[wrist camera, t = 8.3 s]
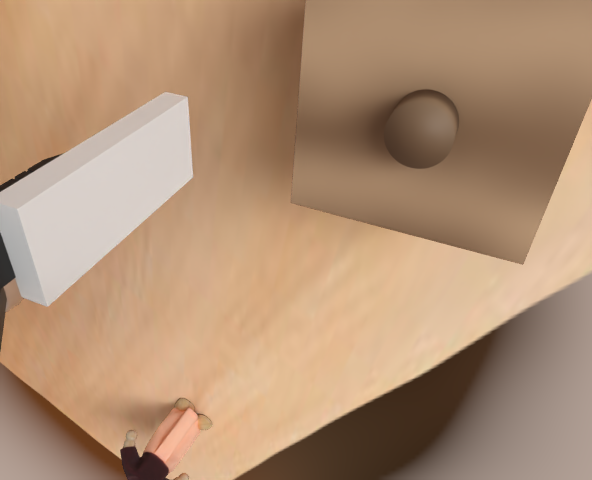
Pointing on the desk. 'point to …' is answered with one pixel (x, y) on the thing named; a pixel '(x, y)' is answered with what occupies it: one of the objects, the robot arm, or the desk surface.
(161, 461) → the grandmother figurine
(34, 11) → the desk surface
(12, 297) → the plastic bottle
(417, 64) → the lid
